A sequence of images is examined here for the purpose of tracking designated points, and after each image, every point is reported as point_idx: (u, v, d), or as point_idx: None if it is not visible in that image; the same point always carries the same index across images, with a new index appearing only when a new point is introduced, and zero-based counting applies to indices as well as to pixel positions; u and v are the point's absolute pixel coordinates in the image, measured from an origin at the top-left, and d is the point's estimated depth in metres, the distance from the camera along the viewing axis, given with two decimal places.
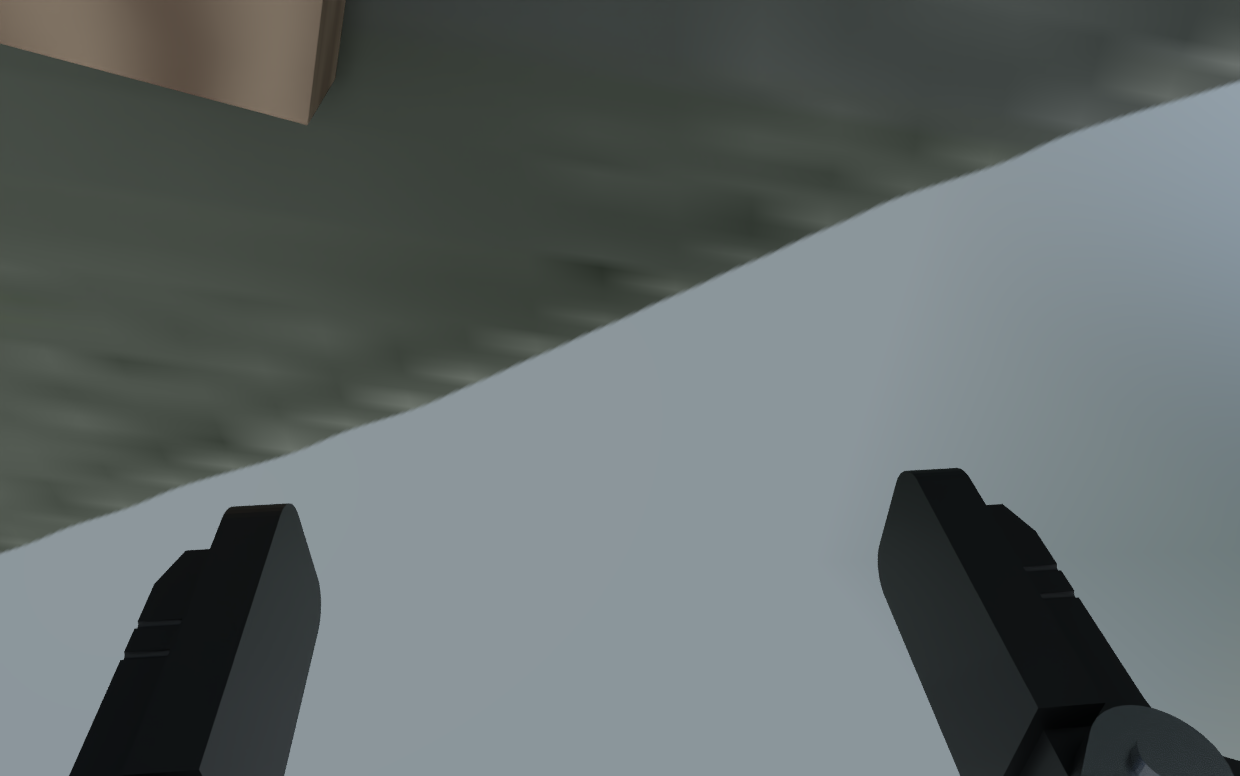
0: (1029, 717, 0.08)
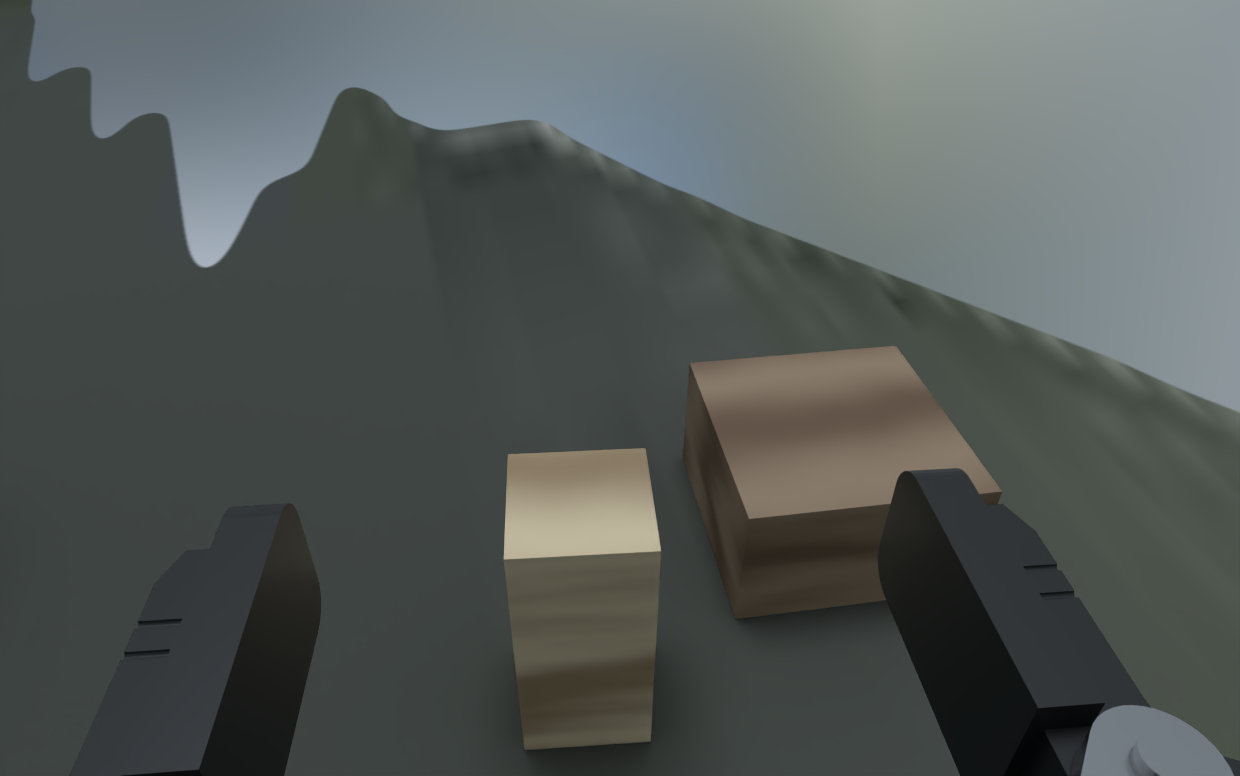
0: (1029, 717, 0.08)
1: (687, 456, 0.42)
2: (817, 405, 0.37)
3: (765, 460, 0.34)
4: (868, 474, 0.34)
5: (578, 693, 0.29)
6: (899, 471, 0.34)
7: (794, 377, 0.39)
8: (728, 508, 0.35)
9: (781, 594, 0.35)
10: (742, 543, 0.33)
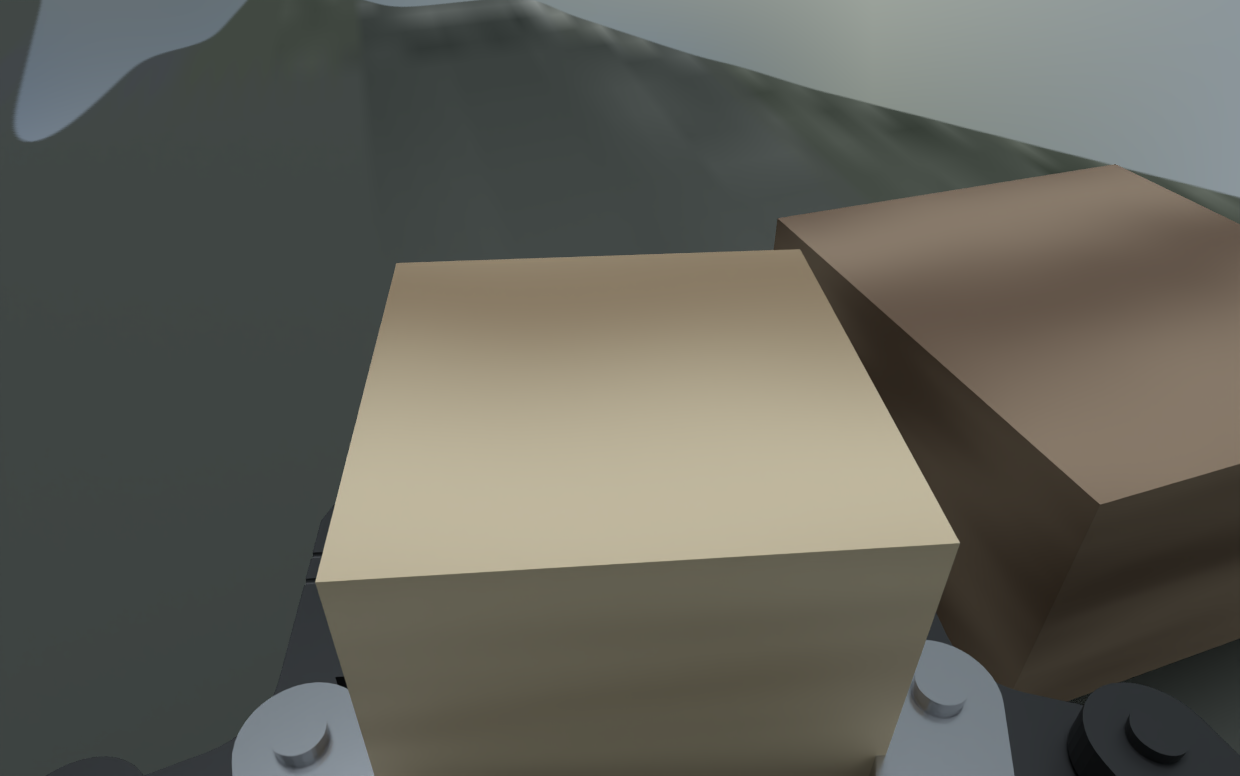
0: None
1: None
2: (1061, 260, 0.18)
3: (1039, 370, 0.15)
4: None
5: None
6: None
7: (983, 222, 0.20)
8: (966, 488, 0.15)
9: (1093, 661, 0.16)
10: (1048, 565, 0.14)
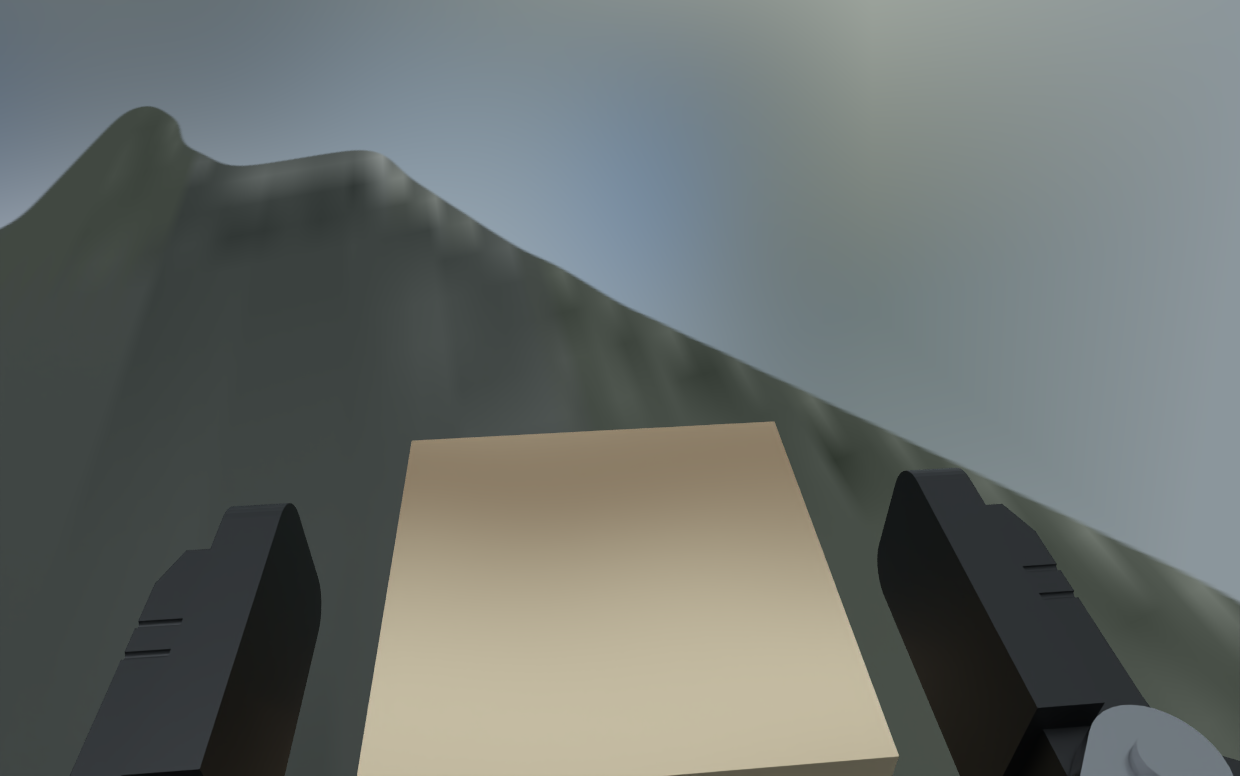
0: (1029, 717, 0.08)
1: None
2: None
3: None
4: None
5: None
6: None
7: None
8: None
9: None
10: None
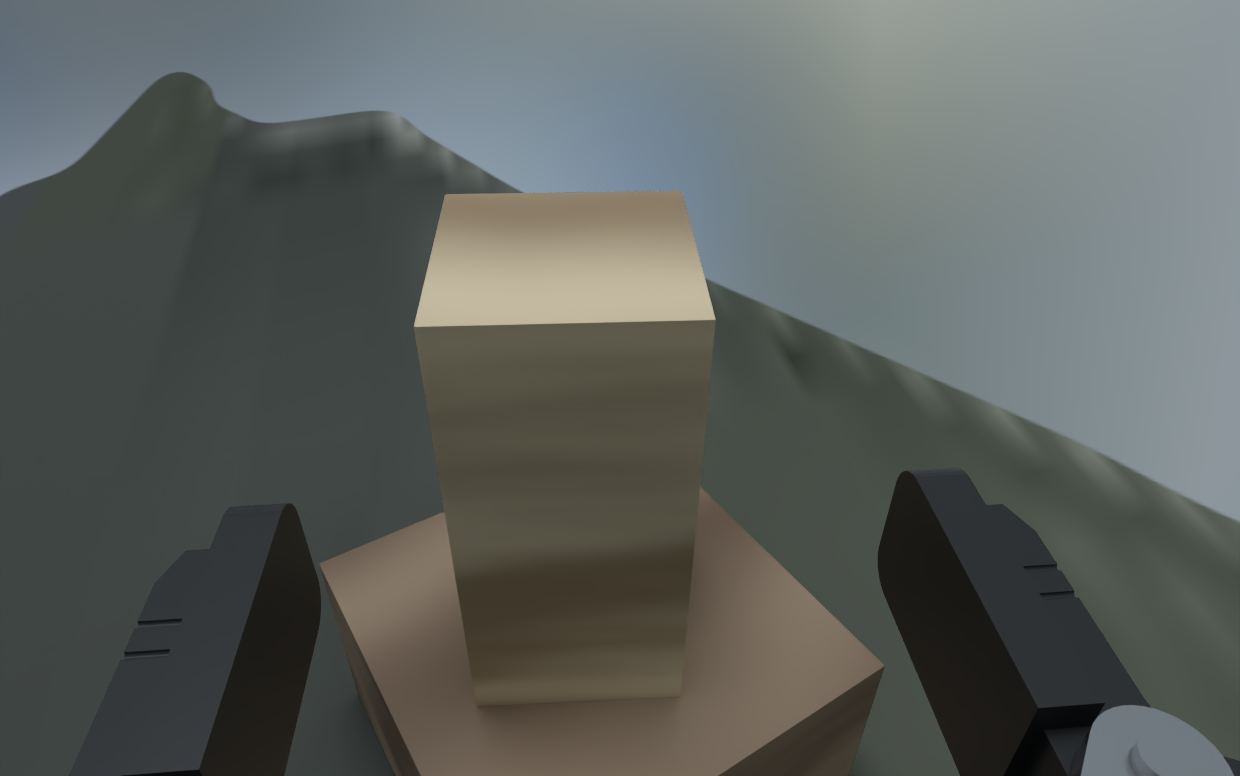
0: (1029, 717, 0.08)
1: (363, 700, 0.25)
2: None
3: (493, 748, 0.18)
4: (677, 710, 0.19)
5: (562, 610, 0.17)
6: (723, 682, 0.19)
7: None
8: None
9: None
10: None
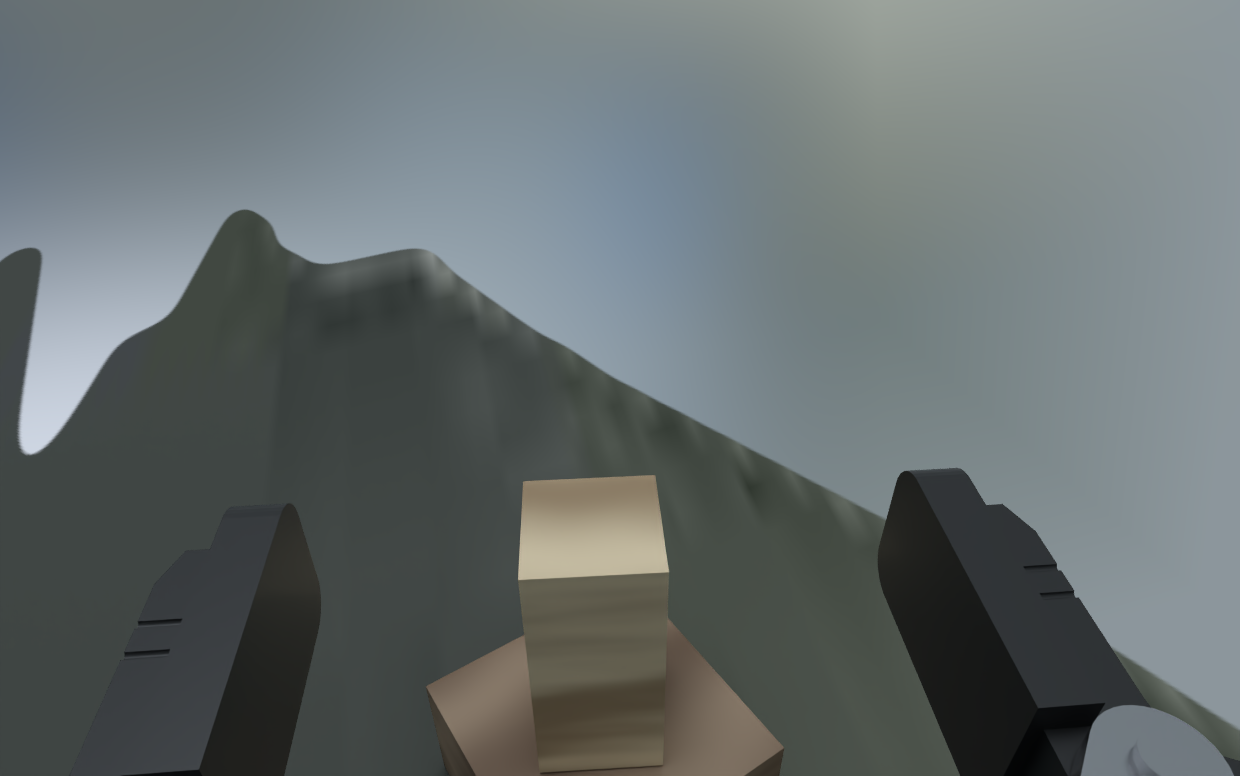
0: (1029, 717, 0.08)
1: (450, 771, 0.37)
2: None
3: None
4: None
5: (591, 715, 0.29)
6: (683, 761, 0.32)
7: None
8: None
9: None
10: None
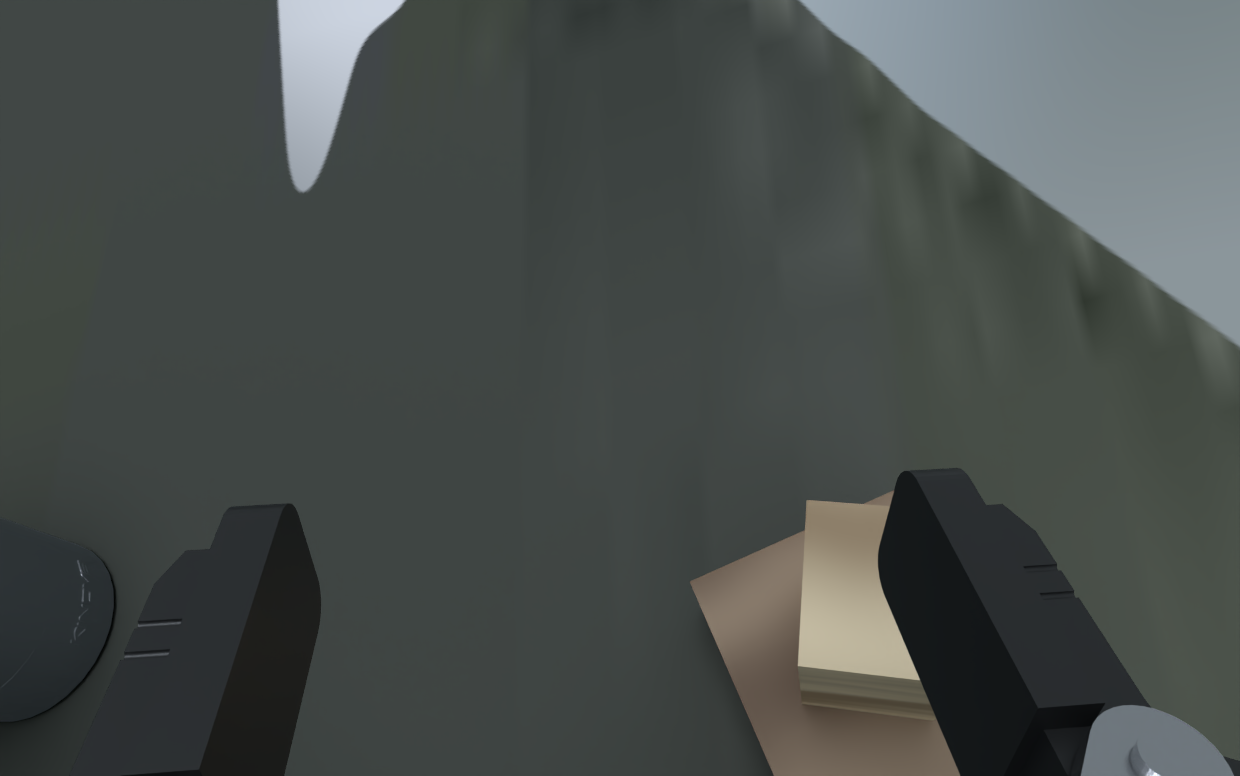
0: (1029, 717, 0.08)
1: None
2: None
3: (806, 743, 0.31)
4: (924, 738, 0.30)
5: (863, 702, 0.28)
6: None
7: None
8: None
9: None
10: None
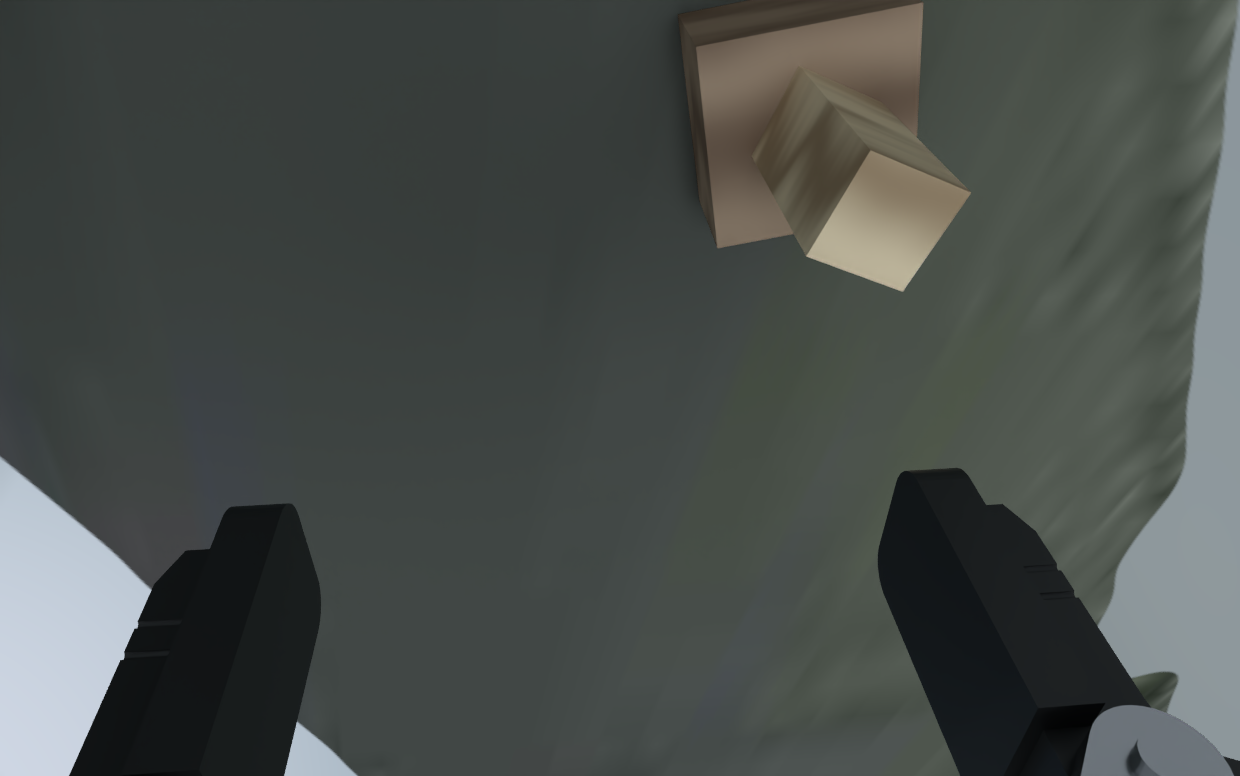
0: (1029, 717, 0.08)
1: (681, 35, 0.42)
2: None
3: (742, 187, 0.42)
4: None
5: None
6: None
7: (797, 67, 0.38)
8: (706, 190, 0.44)
9: None
10: (711, 227, 0.45)
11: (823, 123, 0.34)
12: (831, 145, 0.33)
